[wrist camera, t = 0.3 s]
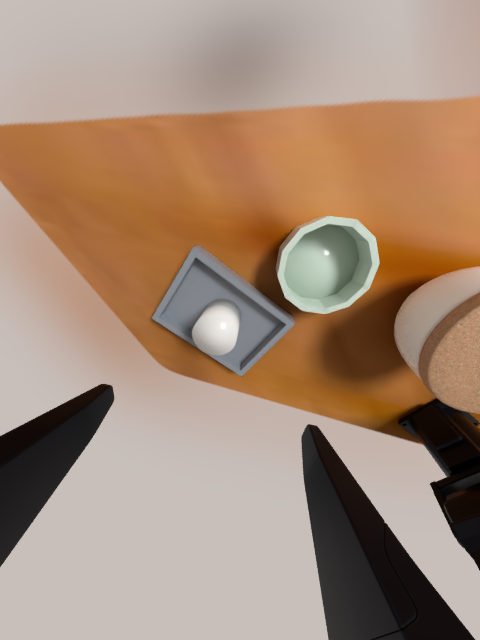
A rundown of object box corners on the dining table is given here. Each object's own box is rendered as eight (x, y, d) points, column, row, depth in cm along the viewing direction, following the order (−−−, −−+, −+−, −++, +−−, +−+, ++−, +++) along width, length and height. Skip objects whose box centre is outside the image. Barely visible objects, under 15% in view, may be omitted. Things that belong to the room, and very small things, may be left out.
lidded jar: (376, 363, 23) (442, 444, 15) (368, 275, 19) (452, 318, 11) (491, 341, 21) (648, 424, 12) (510, 235, 16) (769, 248, 8)
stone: (248, 313, 21) (245, 334, 17) (227, 338, 23) (220, 362, 19) (218, 291, 21) (207, 307, 17) (198, 318, 22) (184, 339, 18)
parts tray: (292, 316, 21) (295, 324, 20) (242, 366, 25) (241, 376, 24) (199, 245, 19) (193, 247, 18) (159, 311, 23) (151, 318, 21)
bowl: (379, 255, 18) (400, 260, 15) (316, 314, 21) (324, 328, 18) (318, 197, 17) (329, 193, 14) (260, 270, 20) (260, 278, 17)
